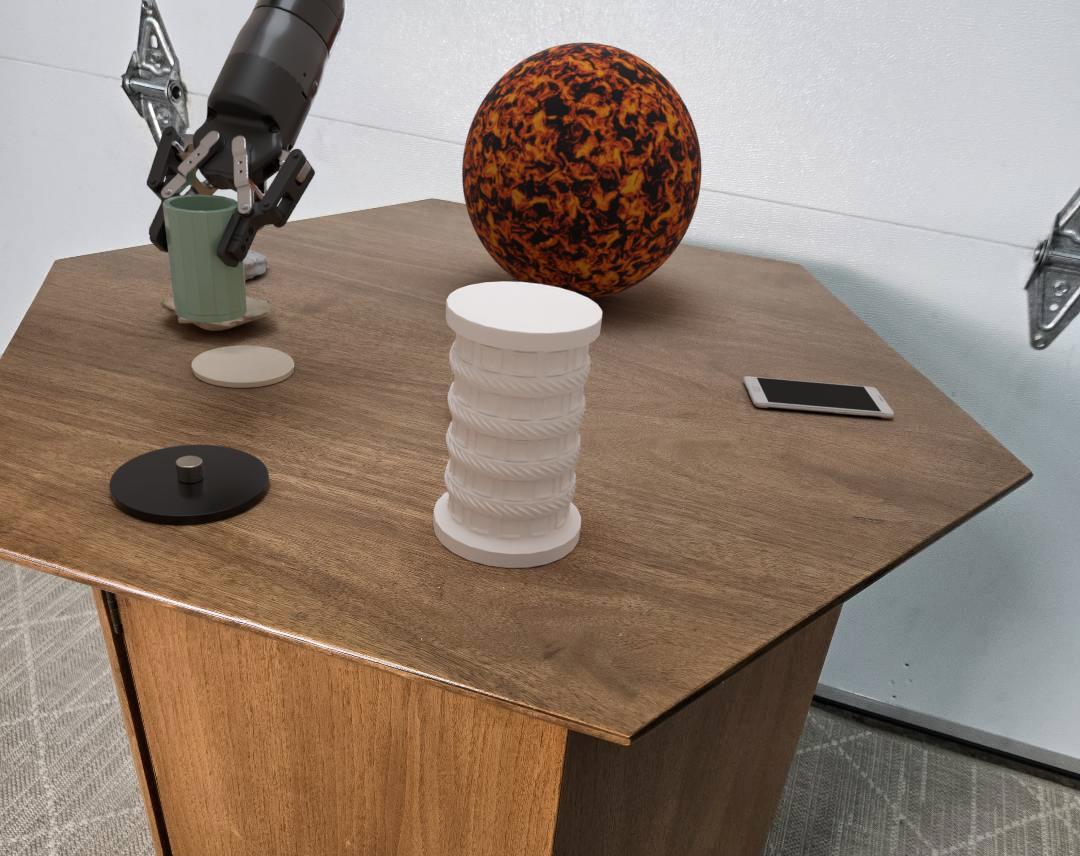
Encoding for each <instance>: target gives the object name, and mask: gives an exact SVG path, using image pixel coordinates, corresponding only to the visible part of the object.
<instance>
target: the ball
mask: <svg viewBox="0 0 1080 856" xmlns="http://www.w3.org/2000/svg"><path fill="white" fill-rule="evenodd" d="M463 149H464V150H463V155H462V165H461V167H462V168H461V171H462V172H461V178H462V180H461V183H462V191H463V192H462V193H463V198H464V203H465V207H466V210H467V214H468V217H469V219H470V222H471V225H472V228H473V230H474V232H475V234H476V236H477V237H478V240H479V242H480V243H481V244H482V246H483V248H484V249H485V250H486V252H487V254H488V255H489V256H490V257H491V258H492V260H493V261H494V262H495V263H496V264H497V265H498V266H499V267H500V268H501V269H502V270H503V271H504V272H506V273H507V274H508V275H509V276H510V277H512V278H513V279H515V280H516V282H526V283H535V284H543V285H548V286H553V287H559V288H562V289H566V290H569V291H572V292H576V293H578V294H580V295H583V296H585V297H587V298H589V299H591V300H595V299H601V298H605V297H609V296H613V295H615V294H619V293H621V292H624V291H626V290H629V289H631V288H632V287H634V286H636V285H638V284H639V283H642V282H643V281H645V280H646V279H647V278H649V277H650V276H652V275H653V274H654V273H655V272H656V271H657V270H659V268H661V267H662V266H663V265H664V264H665V263H666V262H667V260H668V259H670V257H671V256H672V255H673V254H674V252H675V251H676V250H677V248H678V247H679V246H680V243H681V242H682V240H683V239H684V237H685V235H686V233H687V231H688V230H689V228H690V225H691V223H692V220H693V218H694V216H695V212H696V209H697V206H698V202H699V196H700V191H701V185H702V153H701V146H700V142H699V136H698V132H697V128H696V126H695V123H694V122H693V118H692V115H691V114H690V111H689V109H688V107H687V106H686V103H685V102H684V100H683V99H682V97H681V95H680V93H678V91H677V90H676V88H675V87H674V85H673V84H672V83H671V82H670V81H669V79H668V78H666V77H665V76H664V75H663V74H662V73H661V72H660V71H659V70H658V69H656V67H654V66H653V65H651V64H650V63H649V62H647V61H646V60H644V59H643V58H641V57H640V56H637V55H635V54H633V53H632V52H629V51H627V50H625V49H622V48H619V47H617V46H616V47H615V46H614V45H609V44H604V43H599V42H570V43H564V44H559V45H555V46H552V47H548V48H545V49H543V50H541V51H538V52H536V53H534V54H532V55H530V56H528V57H526V58H524V59H523V60H521V61H520V62H518V63H516V64H515V65H514V66H513V67H512V68H510V69H509V70H508V71H507V72H506V73H504V74H503V75H502V76H501V77H500V78H499V79H498V80H497V81H496V82H495V84H494V85H493V86H492V87H491V88H490V90H489V91H488V92H487V94H486V95H485V96H484V98H483V99H482V101H481V103H480V105H479V106H478V108H477V110H476V112H475V114H474V116H473V118H472V121H471V124H470V126H469V130H468V132H467V135H466V140H465V144H464V148H463Z"/></svg>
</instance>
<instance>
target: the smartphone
mask: <svg viewBox="0 0 1080 856" xmlns="http://www.w3.org/2000/svg"><path fill="white" fill-rule="evenodd" d="M742 381H743V383H744V386H745V388H746V390H747V392H748V394H749V397H750V399H751V401H752V404H753V405H754V406H755V407H756V408H763V409H773V410H784V411H798V412H807V413H808V412H809V413H819V414H821V413H822V414H830V415H831V414H832V415H845V416H857V417H868V418H879V419H880V418H881V419H892V418H894V416H895V412H894V410H893V409H892V407H891V406H890V405H889V404H888V402H887V401H886V399H885V398H884V397H883V395H882V394H881V393H880V391H879V390H878V389H877V388H876V387H873V386H866V385H854V384H844V383H843V384H842V383H829V382H819V381H818V382H817V381H809V380H808V381H806V380H795V379H785V378H784V379H783V378H775V377H774V378H772V377H761V376H749V375H746V376H743V378H742Z"/></svg>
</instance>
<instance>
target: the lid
mask: <svg viewBox="0 0 1080 856" xmlns="http://www.w3.org/2000/svg"><path fill="white" fill-rule="evenodd" d="M108 485H109V493H110V497H111V498H110V499H111V501H112V502H113V504H114V505H115V506H116V507H117V508H118V509H119V510H120V511H121V512H123V513H125V514H126V515H128V516H130V517H132V518H135V519H138V520H140V521H144V522H149V523H154V524H160V525H161V524H162V525H170V526H173V525H174V526H189V525H190V526H191V525H201V524H207V523H212V522H217V521H222V520H226V519H229V518H232V517H234V516H238V515H240V514H242V513H244V512H246V511H249V510H250V509H252V508H254V507H255V506H256V505H258V504H259V503H260V502H261V501H262V500H264V498H265V496H266V495H267V494H268V492H269V489H270V473H269V470H268V467H267V466H266V465H265V463H264V462H263V461H262V460H261V459H260V458H258V457H256V456H255V455H253V454H251V453H249V452H247V451H244V450H241V449H238V448H234V447H229V446H223V445H216V444H182V445H174V446H168V447H163V448H158V449H154V450H152V451H151V450H150V451H148V452H145V453H142V454H139V455H137V456H135V457H133V458H131V459H129V460H127V461H125V462H124V463H123V464H122V465H120V466H118V468H116V470H115V471H114V472H113V473H112V475H111V477H110V479H109V484H108Z"/></svg>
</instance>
